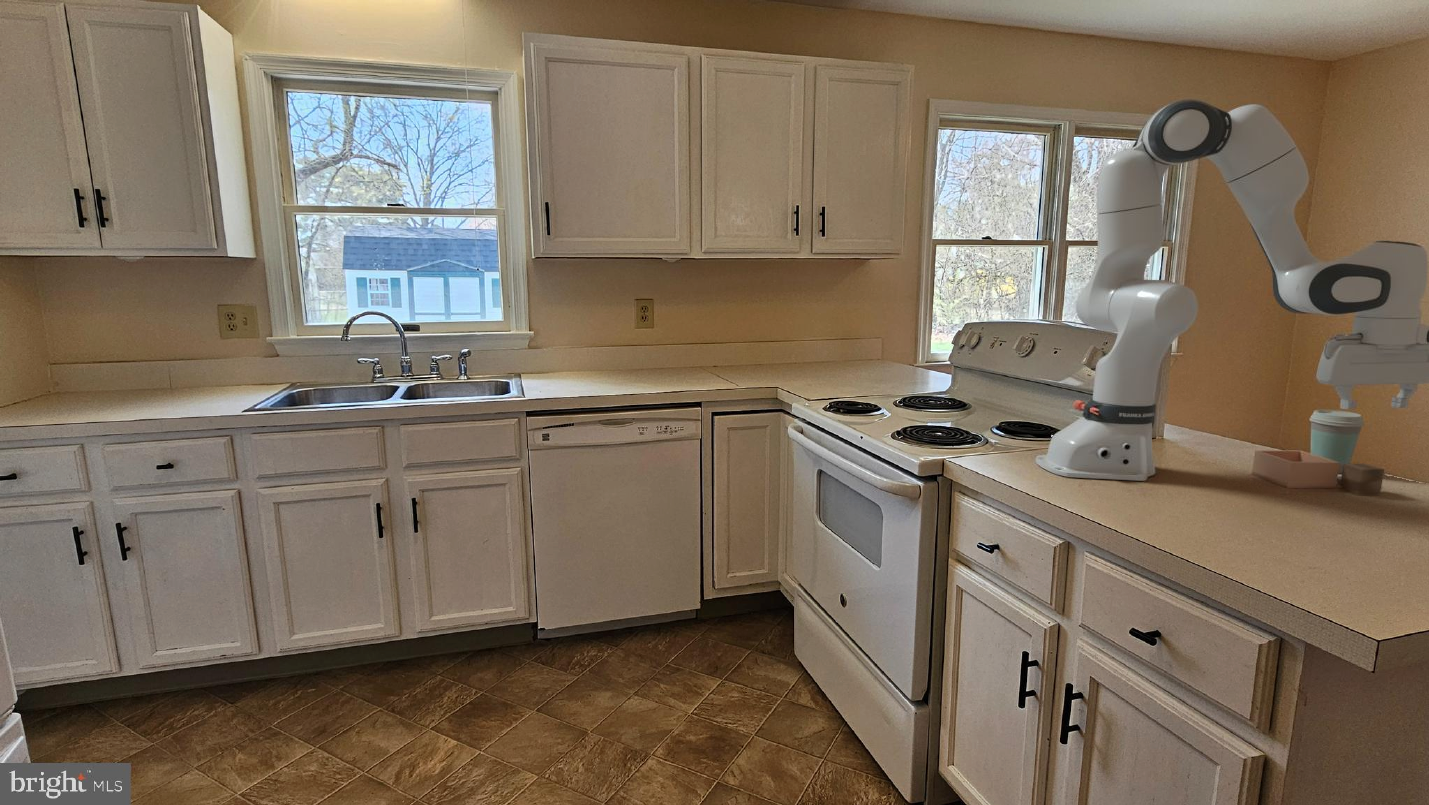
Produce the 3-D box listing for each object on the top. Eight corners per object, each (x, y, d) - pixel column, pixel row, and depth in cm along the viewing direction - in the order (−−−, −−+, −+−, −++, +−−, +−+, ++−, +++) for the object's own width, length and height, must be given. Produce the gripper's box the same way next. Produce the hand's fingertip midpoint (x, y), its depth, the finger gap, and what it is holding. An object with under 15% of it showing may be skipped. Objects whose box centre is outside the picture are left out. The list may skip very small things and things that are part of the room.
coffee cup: (1335, 464, 153) (1344, 409, 150) (1366, 476, 144) (1377, 417, 142) (1292, 463, 153) (1300, 408, 151) (1321, 474, 145) (1330, 416, 143)
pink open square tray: (1287, 487, 136) (1291, 462, 135) (1251, 474, 145) (1255, 450, 144) (1335, 487, 136) (1339, 462, 135) (1296, 474, 145) (1300, 450, 144)
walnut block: (1358, 495, 132) (1362, 469, 131) (1339, 488, 136) (1343, 463, 135) (1379, 495, 132) (1384, 469, 131) (1360, 488, 136) (1364, 463, 135)
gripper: (1342, 336, 125) (1331, 413, 128) (1458, 333, 125) (1445, 410, 128) (1312, 332, 132) (1302, 406, 134) (1423, 329, 132) (1411, 403, 134)
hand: (1373, 408), depth 131 cm, fingers open, 8 cm apart
